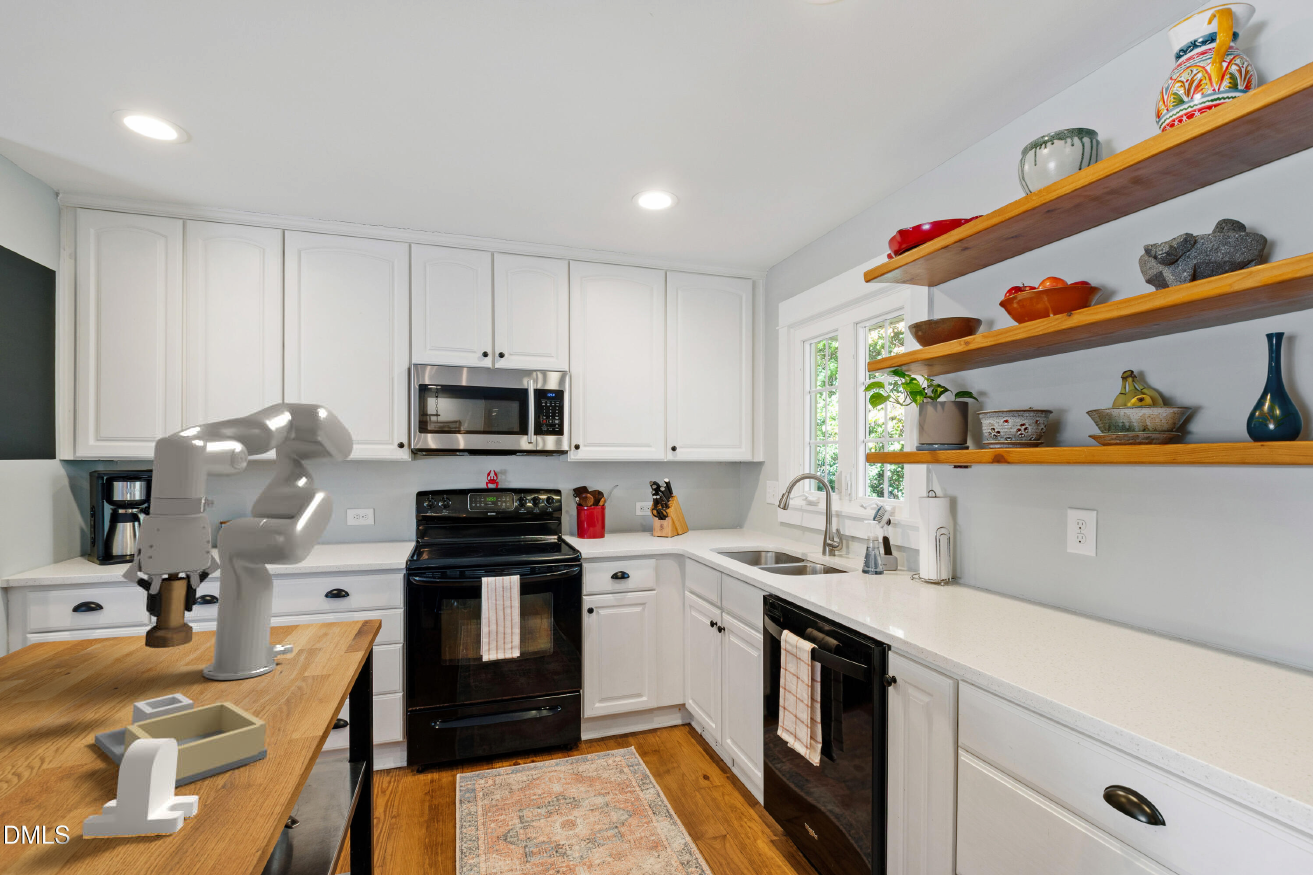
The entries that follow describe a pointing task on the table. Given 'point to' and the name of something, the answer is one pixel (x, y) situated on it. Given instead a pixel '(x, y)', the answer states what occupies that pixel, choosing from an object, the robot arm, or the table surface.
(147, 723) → the socket board
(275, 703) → the table surface
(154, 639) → the brown pepper mill
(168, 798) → the cable organizer
